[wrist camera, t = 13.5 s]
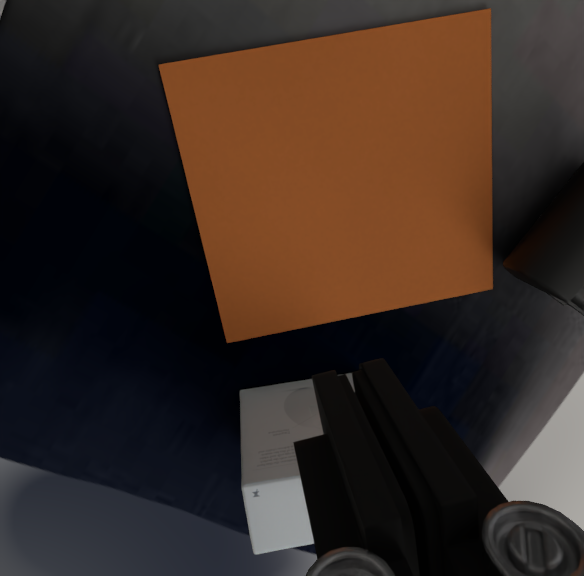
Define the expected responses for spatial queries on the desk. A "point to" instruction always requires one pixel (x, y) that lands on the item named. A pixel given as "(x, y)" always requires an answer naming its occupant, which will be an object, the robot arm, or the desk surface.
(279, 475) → the cosmetics box
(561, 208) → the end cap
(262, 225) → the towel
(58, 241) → the desk surface
